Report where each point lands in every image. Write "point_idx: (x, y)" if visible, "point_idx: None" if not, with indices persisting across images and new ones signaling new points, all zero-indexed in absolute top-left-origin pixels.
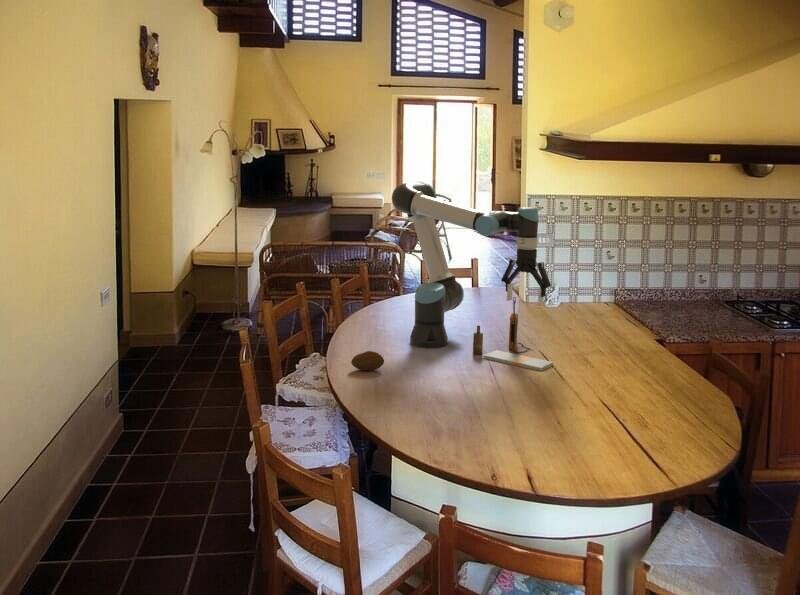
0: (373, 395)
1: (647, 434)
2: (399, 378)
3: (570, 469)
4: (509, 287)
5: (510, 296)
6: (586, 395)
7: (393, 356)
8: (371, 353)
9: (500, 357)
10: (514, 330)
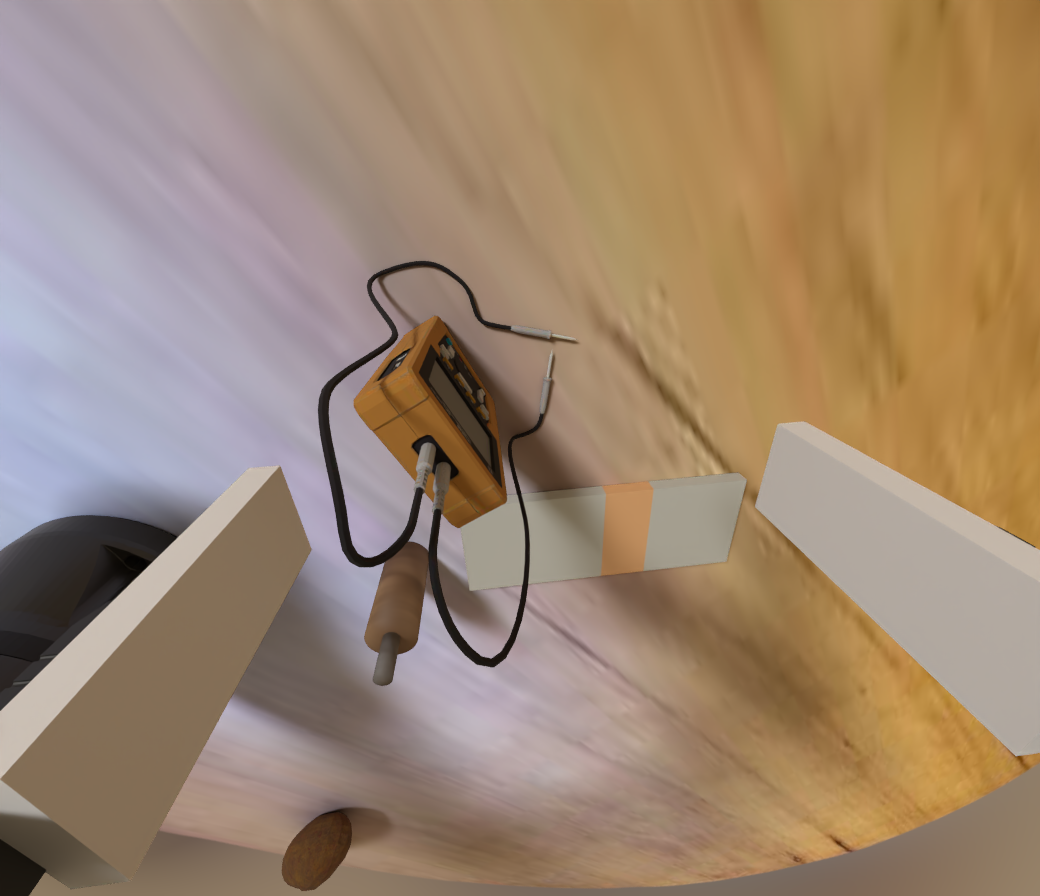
0: (478, 853)
1: None
2: (433, 800)
3: (886, 811)
4: (184, 764)
5: (270, 551)
6: None
7: (245, 742)
8: (321, 882)
9: (538, 570)
10: (525, 510)
